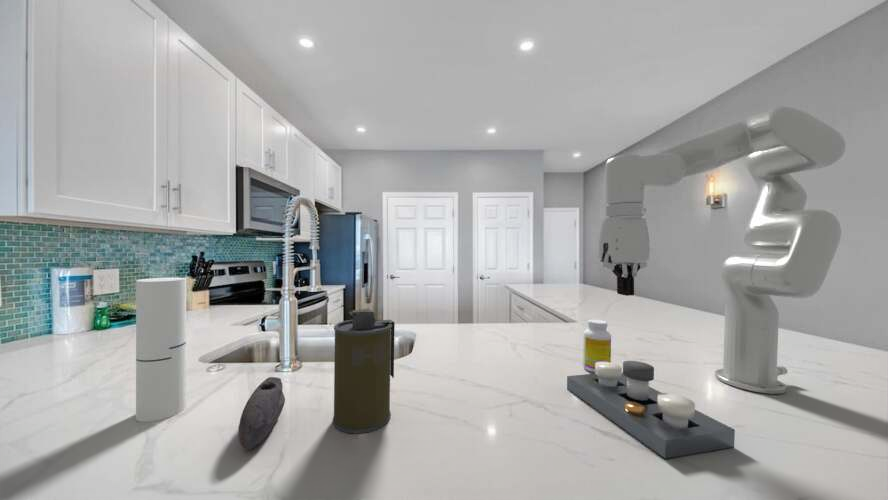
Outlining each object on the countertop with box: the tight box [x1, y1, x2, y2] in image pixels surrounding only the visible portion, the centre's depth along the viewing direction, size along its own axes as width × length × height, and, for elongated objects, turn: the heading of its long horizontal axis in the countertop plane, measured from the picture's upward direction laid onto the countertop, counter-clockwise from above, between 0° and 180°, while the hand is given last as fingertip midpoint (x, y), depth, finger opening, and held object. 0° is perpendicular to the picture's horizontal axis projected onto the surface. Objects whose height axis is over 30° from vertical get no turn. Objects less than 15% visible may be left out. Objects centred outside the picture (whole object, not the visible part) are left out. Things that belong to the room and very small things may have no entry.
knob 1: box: [594, 362, 623, 388], centre depth 72 cm, size 5×5×6 cm
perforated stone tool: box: [238, 376, 286, 451], centre depth 56 cm, size 15×5×7 cm, turn 10°
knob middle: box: [622, 360, 655, 400], centre depth 64 cm, size 5×5×6 cm
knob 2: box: [657, 392, 696, 430], centre depth 56 cm, size 5×5×6 cm
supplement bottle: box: [582, 318, 612, 374], centre depth 87 cm, size 7×7×13 cm
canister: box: [332, 308, 396, 434], centre depth 61 cm, size 11×10×20 cm
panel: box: [566, 372, 736, 461], centre depth 64 cm, size 25×14×4 cm, turn 14°
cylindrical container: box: [135, 277, 187, 423], centre depth 62 cm, size 7×7×25 cm
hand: (625, 294), depth 73 cm, fingers closed
